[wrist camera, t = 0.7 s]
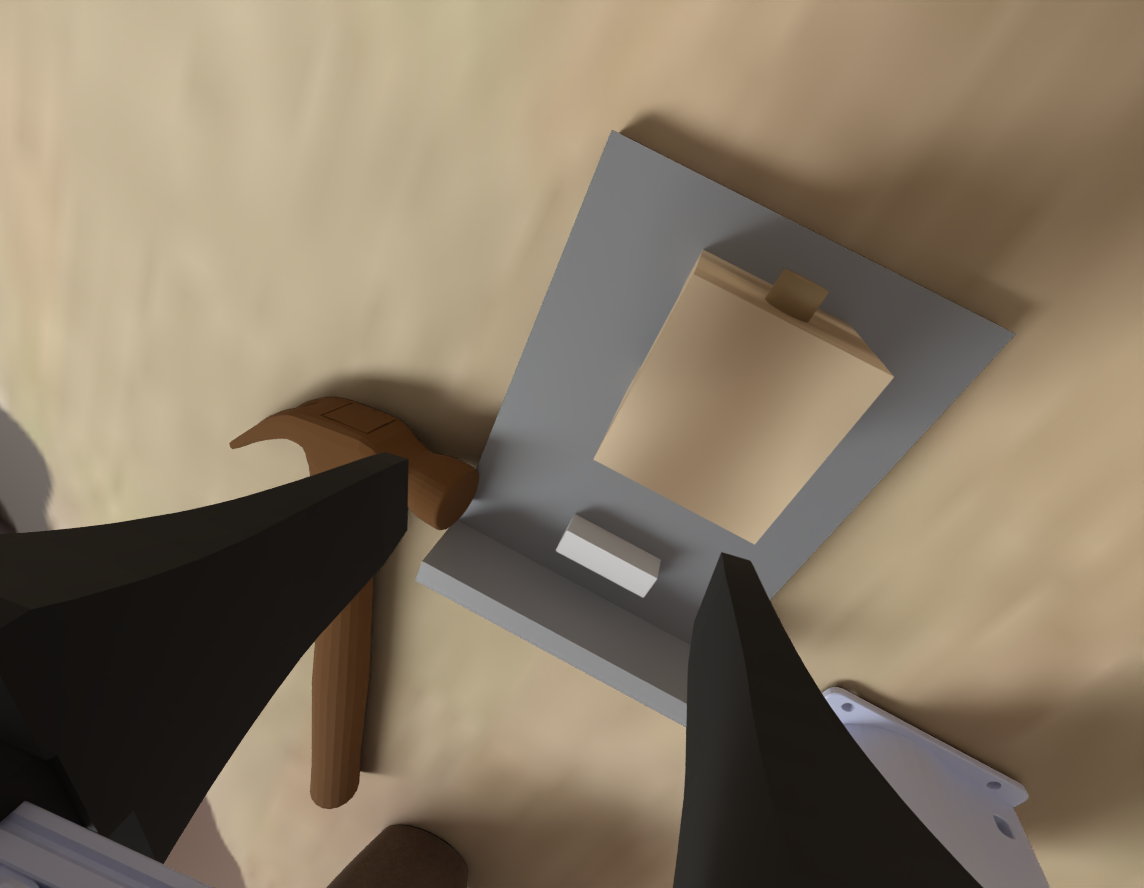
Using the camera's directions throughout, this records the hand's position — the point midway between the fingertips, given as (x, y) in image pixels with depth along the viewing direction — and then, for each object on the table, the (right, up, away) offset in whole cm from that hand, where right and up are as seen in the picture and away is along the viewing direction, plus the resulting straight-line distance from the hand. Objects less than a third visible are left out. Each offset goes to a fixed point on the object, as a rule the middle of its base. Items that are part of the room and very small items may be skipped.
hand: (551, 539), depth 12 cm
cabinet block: (+6, +5, +6) cm, 9 cm away
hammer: (-12, -8, +19) cm, 24 cm away
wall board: (+4, +2, +9) cm, 10 cm away
